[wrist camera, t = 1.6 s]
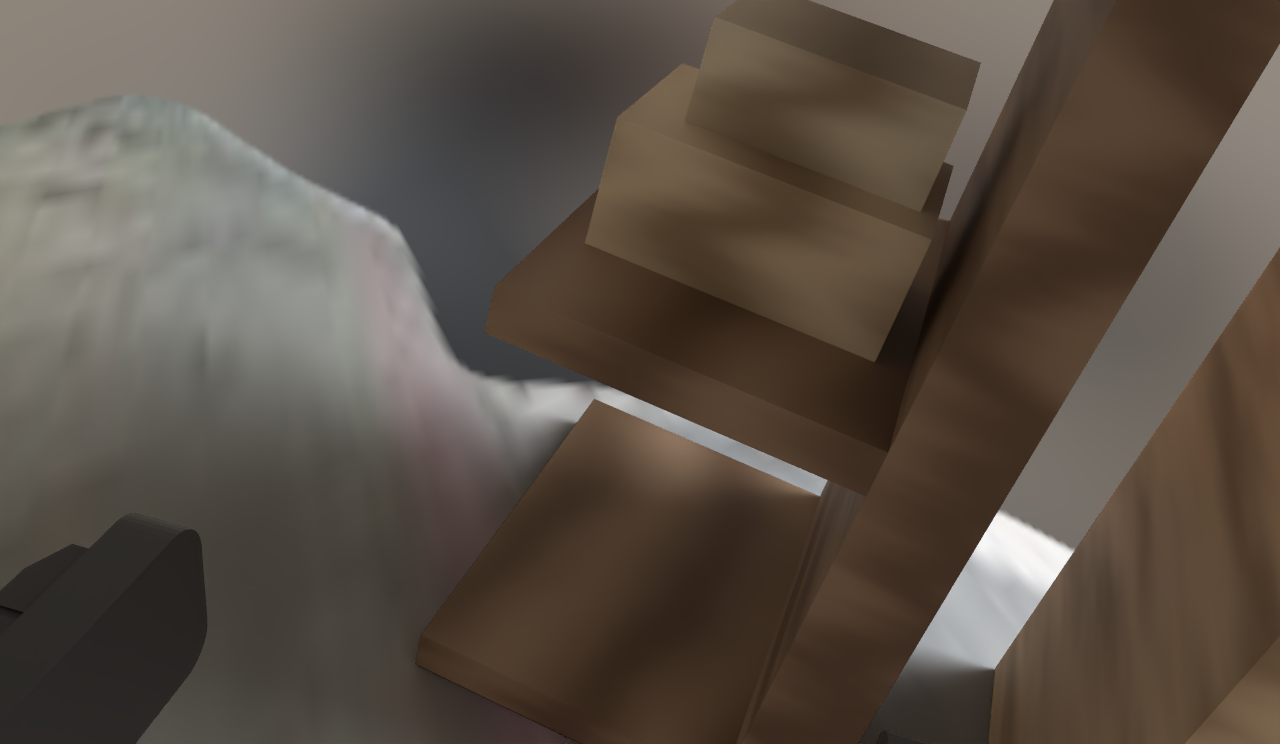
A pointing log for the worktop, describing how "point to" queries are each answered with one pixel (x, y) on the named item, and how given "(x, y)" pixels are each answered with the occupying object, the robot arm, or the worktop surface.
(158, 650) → the robot arm
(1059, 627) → the wooden block
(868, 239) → the rack
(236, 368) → the worktop surface
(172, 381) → the worktop surface
